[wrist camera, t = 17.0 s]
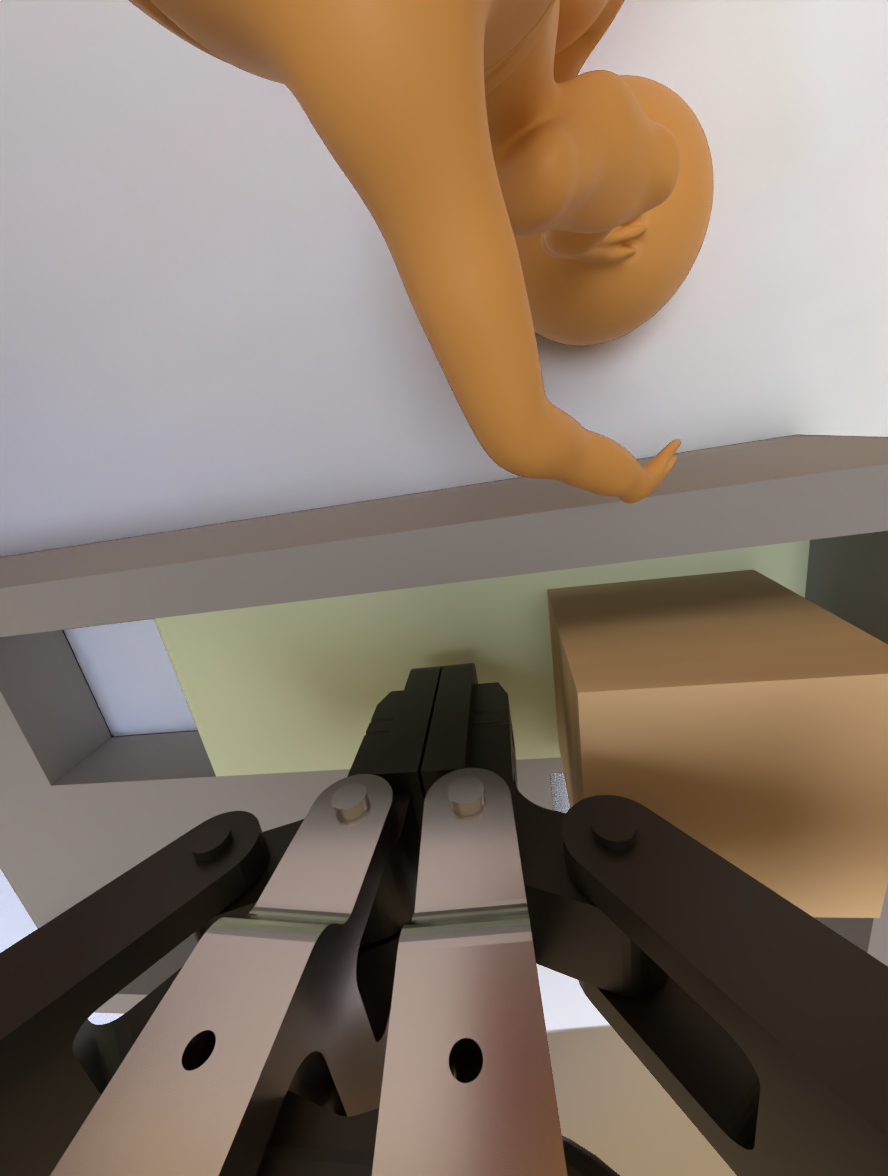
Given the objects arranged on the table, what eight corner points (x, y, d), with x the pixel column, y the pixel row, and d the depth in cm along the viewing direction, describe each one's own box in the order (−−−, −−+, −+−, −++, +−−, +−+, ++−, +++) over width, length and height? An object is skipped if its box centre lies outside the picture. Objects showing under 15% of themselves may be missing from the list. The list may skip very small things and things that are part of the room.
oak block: (546, 589, 11) (577, 692, 7) (753, 569, 10) (934, 670, 6) (558, 746, 12) (590, 914, 8) (740, 738, 12) (879, 917, 7)
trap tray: (-71, 568, 16) (-351, 637, 11) (797, 434, 11) (1044, 441, 6) (101, 888, 20) (-33, 1044, 15) (764, 879, 16) (888, 1093, 11)
